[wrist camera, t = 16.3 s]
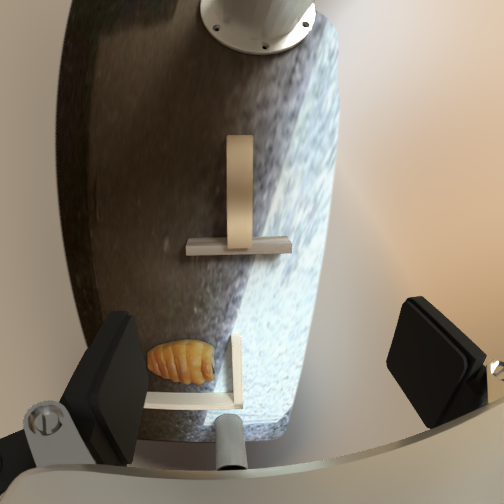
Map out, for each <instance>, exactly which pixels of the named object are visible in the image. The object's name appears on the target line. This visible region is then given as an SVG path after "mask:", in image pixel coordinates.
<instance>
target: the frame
mask: <svg viewBox="0 0 504 504" xmlns="http://www.w3.org/2000/svg"><path fill="white" fill-rule="evenodd" d="M231 345H232V371H233V392H226V393H169V392H147V395H146V399H145V404H144V408H153V409H175V410H227V409H243V395H242V343H241V334H231Z"/></svg>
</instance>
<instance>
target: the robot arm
mask: <svg viewBox="0 0 504 504" xmlns="http://www.w3.org/2000/svg"><path fill="white" fill-rule="evenodd" d="M314 1H315V0H201V3H200V12H201V17H202V21H203V23H204V25H205V27H206V29H207V31H208V32H209V33H210V34H211V35H212V37H214V38H215V39H216V40H217V41H218V42H220V43H221V44H223V45H225V46H226V47H228V48H230V49H233V50H236V51H238V52H242V53H247V54H253V55H269V54H276V53H280V52H284V51H286V50H288V49H291V48H293V47H294V46H296V45H297V44H299V43H300V42H301V41H302V40H303V39H304V38H305V37H306V36H307V35H308V34H309V32H310V31H311V29H312V27H313V25H314V22H315V16H316V11H315V5H314ZM303 26H305V27H306V28H305V27H303ZM216 29H218V30H219V31H215V30H216ZM262 47H266V50H265V49H263V48H262ZM486 356H487V355H486V354H485V353H484V352H483V351H482V350H481V349H480V348H479V347H478V346H477V345H476V344H474V343H473V342H472V341H471V340H470V339H469V338H468V337H467V336H466V335H465V334H464V333H463V332H462V331H461V330H460V329H458V328H457V327H456V326H455V325H454V324H453V323H452V322H451V321H450V320H449V319H447V318H446V317H445V316H444V315H443V314H442V313H441V312H440V311H438V310H437V309H436V308H435V307H434V306H433V305H432V304H431V303H429V302H428V301H427V300H426V299H425V298H424V297H422V296H418V297H410V298H407V300H406V301H405V302H404V303H403V304H402V307H401V311H400V315H399V319H398V323H397V326H396V330H395V333H394V337H393V340H392V344H391V347H390V350H389V354H388V357H387V360H386V363H387V368H388V369H389V371H390V372H391V374H392V375H393V377H394V378H395V380H396V381H397V383H398V384H399V386H400V387H401V389H402V390H403V392H404V393H405V395H406V396H407V398H408V399H409V401H410V402H411V404H412V406H413V407H414V409H415V410H416V412H417V413H418V415H419V416H420V418H421V419H422V421H423V423H424V424H425V426H426V427H427V428H430V430H428V431H425V432H422V433H420V434H417V435H414V436H411V437H408V438H406V439H402V440H399V441H396V442H393V443H390V444H387V445H383V446H380V447H376V448H373V449H369V450H365V451H362V452H357V453H353V454H349V455H344V456H340V457H336V458H330V459H326V460H320V461H315V462H309V463H302V464H295V465H289V466H281V467H271V468H261V469H248V470H229V471H178V470H158V469H145V468H135V467H126V466H127V464H131V463H132V461H133V456H134V451H135V446H136V441H137V436H138V431H139V426H140V422H141V417H142V412H143V408H144V404H145V399H146V395H147V391H148V386H149V378H148V374H147V370H146V366H145V362H144V358H143V354H142V350H141V345H140V341H139V337H138V332H137V327H136V323H135V318H134V316H129V313H128V312H127V311H110V313H109V314H108V316H107V318H106V319H105V321H104V323H103V325H102V326H101V328H100V330H99V332H98V333H97V335H96V337H95V339H94V340H93V342H92V344H91V346H90V348H88V349H87V350H86V351H85V353H84V355H83V357H82V359H81V361H80V362H79V364H78V366H77V368H76V370H75V372H74V374H73V375H72V377H71V379H70V381H69V383H68V385H67V387H66V389H65V391H64V393H63V395H62V397H61V399H60V402H56V401H43V402H39V403H37V404H35V405H33V406H32V407H31V408H30V409H28V411H27V413H26V414H25V416H24V419H23V426H24V429H23V430H20V431H18V432H15V433H13V434H11V435H8V436H6V437H4V438H1V439H0V504H504V360H503V359H497V358H496V359H492V360H490V361H489V362H488V363H487V365H486V367H485V366H484V365H483V363H484V361H485V358H486Z"/></svg>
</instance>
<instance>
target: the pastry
mask: <svg viewBox="0 0 504 504" xmlns="http://www.w3.org/2000/svg"><path fill="white" fill-rule="evenodd" d="M214 353H215V351H214V348H213V346H212V345H210V344H208V343H205V342H203V341H200V340H197V339H195V340H189V339H184V340H179V341H173V342H169V343H165V344H161V345H157V346H156V347H154V348H152V349H151V350H150V351H149V352H148V354H147V362H148V369H149V370H151V371H152V372H153V373H155V374H157V375H159V376H162V377H163V378H164V379H171V380H172V381H173V382H181V383H184V384H186V385H187V384H190V383H194V384H196V385H201V384H202V383H204V382H205V381H209V382H211V381H212V380H213V379H214V377H215V371H214V367H215V362H214V358H213V355H214Z"/></svg>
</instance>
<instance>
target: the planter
mask: <svg viewBox="0 0 504 504" xmlns="http://www.w3.org/2000/svg"><path fill="white" fill-rule="evenodd" d="M215 443H216V471H229V470H248V466H247V458H246V450H245V440H244V431H243V422H242V419H241V418H240V417H239V416H237V415H234V414H224V415H221V416H219V417H218V418H217V419H216V420H215Z"/></svg>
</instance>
